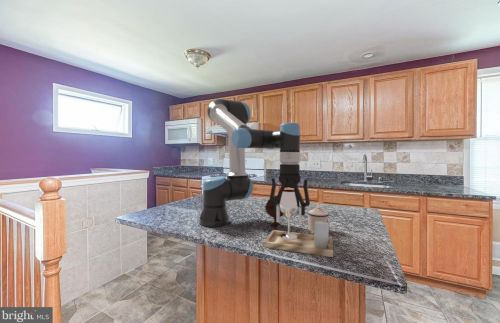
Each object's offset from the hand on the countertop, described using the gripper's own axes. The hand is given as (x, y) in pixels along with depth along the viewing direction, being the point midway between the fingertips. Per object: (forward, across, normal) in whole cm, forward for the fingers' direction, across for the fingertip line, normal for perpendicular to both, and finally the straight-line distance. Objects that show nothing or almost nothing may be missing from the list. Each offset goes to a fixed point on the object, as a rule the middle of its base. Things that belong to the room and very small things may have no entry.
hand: (289, 222), depth 86 cm
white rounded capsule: (+8, +12, 0) cm, 14 cm away
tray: (+9, +4, 0) cm, 10 cm away
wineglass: (+6, 0, 0) cm, 6 cm away
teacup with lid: (+9, +10, +22) cm, 25 cm away
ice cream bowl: (+9, -10, +22) cm, 26 cm away
